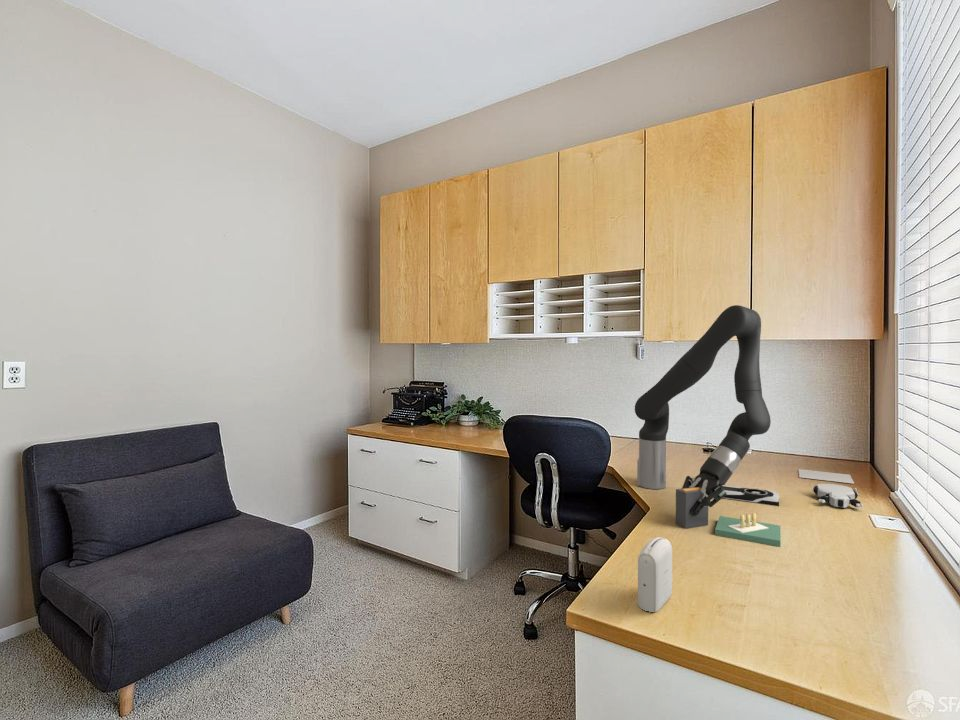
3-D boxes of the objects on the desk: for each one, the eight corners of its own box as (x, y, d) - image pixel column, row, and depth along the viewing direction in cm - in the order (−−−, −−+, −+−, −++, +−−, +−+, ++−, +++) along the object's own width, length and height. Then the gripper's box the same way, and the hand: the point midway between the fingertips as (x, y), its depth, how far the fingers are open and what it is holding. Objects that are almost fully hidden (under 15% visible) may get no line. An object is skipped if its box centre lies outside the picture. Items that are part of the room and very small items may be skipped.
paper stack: (858, 492, 167) (858, 490, 167) (773, 482, 181) (773, 480, 181) (849, 476, 187) (850, 474, 187) (774, 468, 200) (774, 466, 200)
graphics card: (696, 480, 173) (779, 489, 161) (696, 489, 173) (779, 500, 161) (693, 487, 164) (780, 498, 152) (693, 497, 164) (780, 509, 152)
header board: (715, 534, 131) (715, 516, 131) (719, 520, 141) (719, 503, 141) (780, 546, 123) (780, 527, 123) (780, 530, 133) (780, 512, 133)
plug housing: (685, 528, 135) (685, 492, 135) (675, 523, 139) (675, 488, 139) (708, 525, 138) (708, 489, 138) (697, 520, 142) (697, 485, 141)
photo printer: (656, 616, 92) (656, 552, 92) (634, 608, 95) (634, 546, 95) (674, 594, 100) (675, 535, 100) (654, 587, 103) (654, 530, 103)
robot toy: (865, 516, 146) (855, 498, 160) (866, 501, 146) (855, 485, 159) (816, 510, 152) (810, 493, 165) (817, 496, 152) (810, 480, 165)
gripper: (695, 451, 147) (661, 495, 144) (733, 462, 133) (697, 511, 130) (709, 467, 149) (676, 511, 145) (747, 479, 135) (712, 528, 132)
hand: (686, 511), depth 138 cm, fingers closed on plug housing, 4 cm apart
